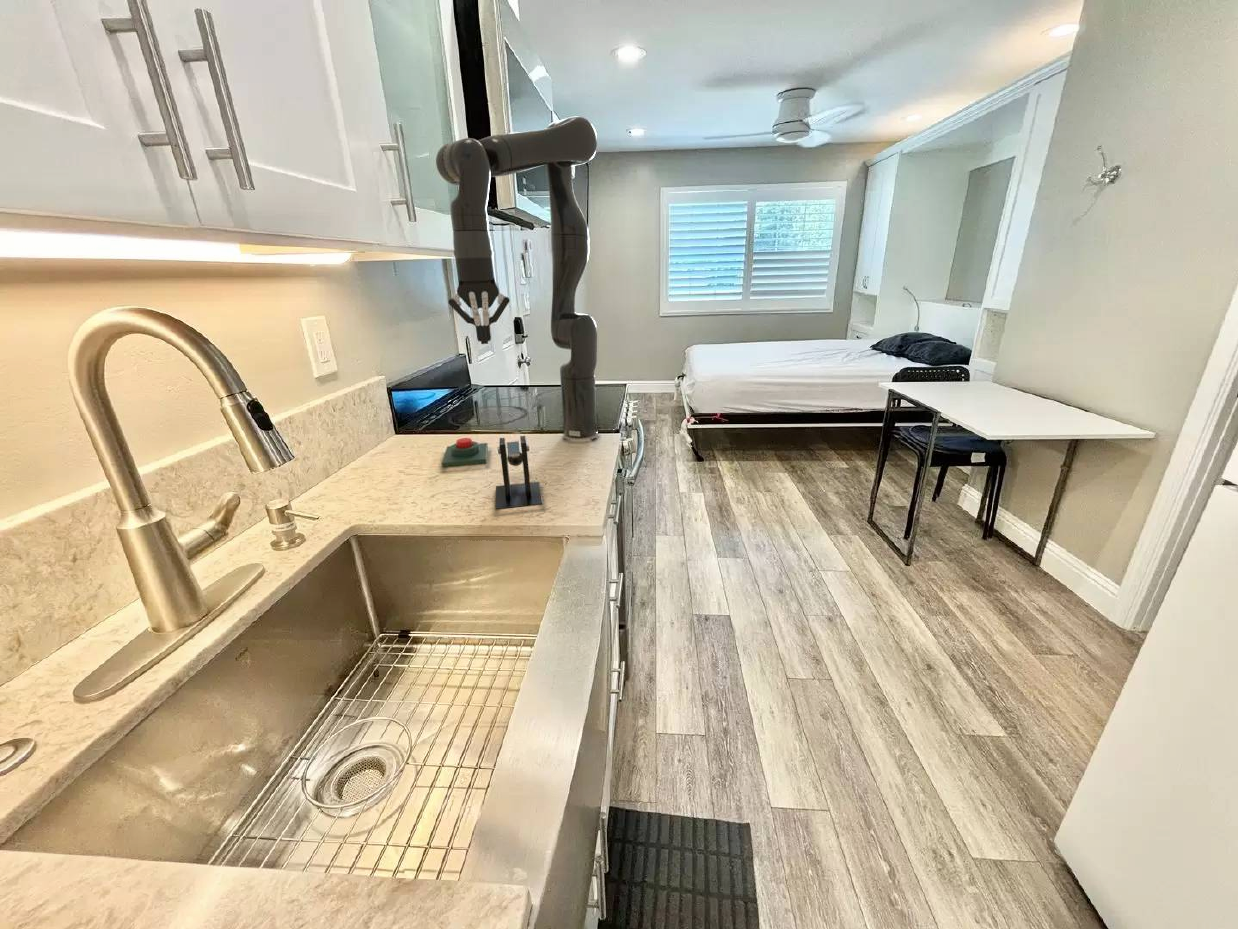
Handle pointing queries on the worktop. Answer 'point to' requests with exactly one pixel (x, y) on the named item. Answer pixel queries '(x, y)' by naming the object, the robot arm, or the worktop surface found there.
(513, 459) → the lever
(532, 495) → the bracket
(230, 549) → the worktop surface
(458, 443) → the button
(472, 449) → the button box
